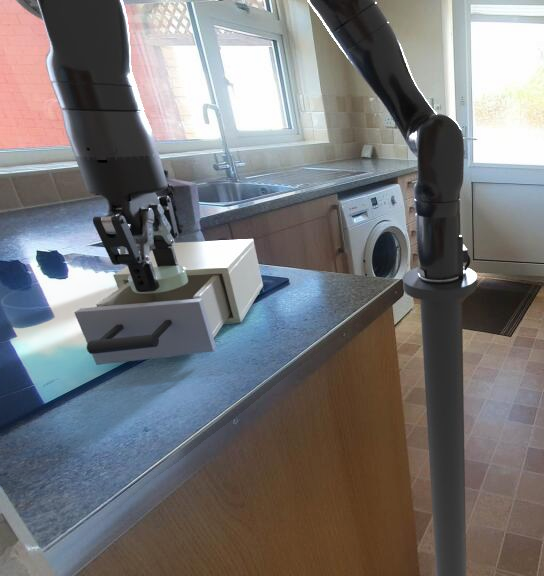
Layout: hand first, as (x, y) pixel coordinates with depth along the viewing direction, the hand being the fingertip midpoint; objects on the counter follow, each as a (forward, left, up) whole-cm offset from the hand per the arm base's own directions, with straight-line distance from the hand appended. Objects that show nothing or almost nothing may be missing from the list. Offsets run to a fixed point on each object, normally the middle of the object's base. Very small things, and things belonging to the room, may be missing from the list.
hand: (159, 281), depth 55 cm
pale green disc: (0, 0, -1) cm, 1 cm away
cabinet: (0, -12, -9) cm, 15 cm away
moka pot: (+9, -33, -10) cm, 36 cm away
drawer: (0, +2, -8) cm, 9 cm away
